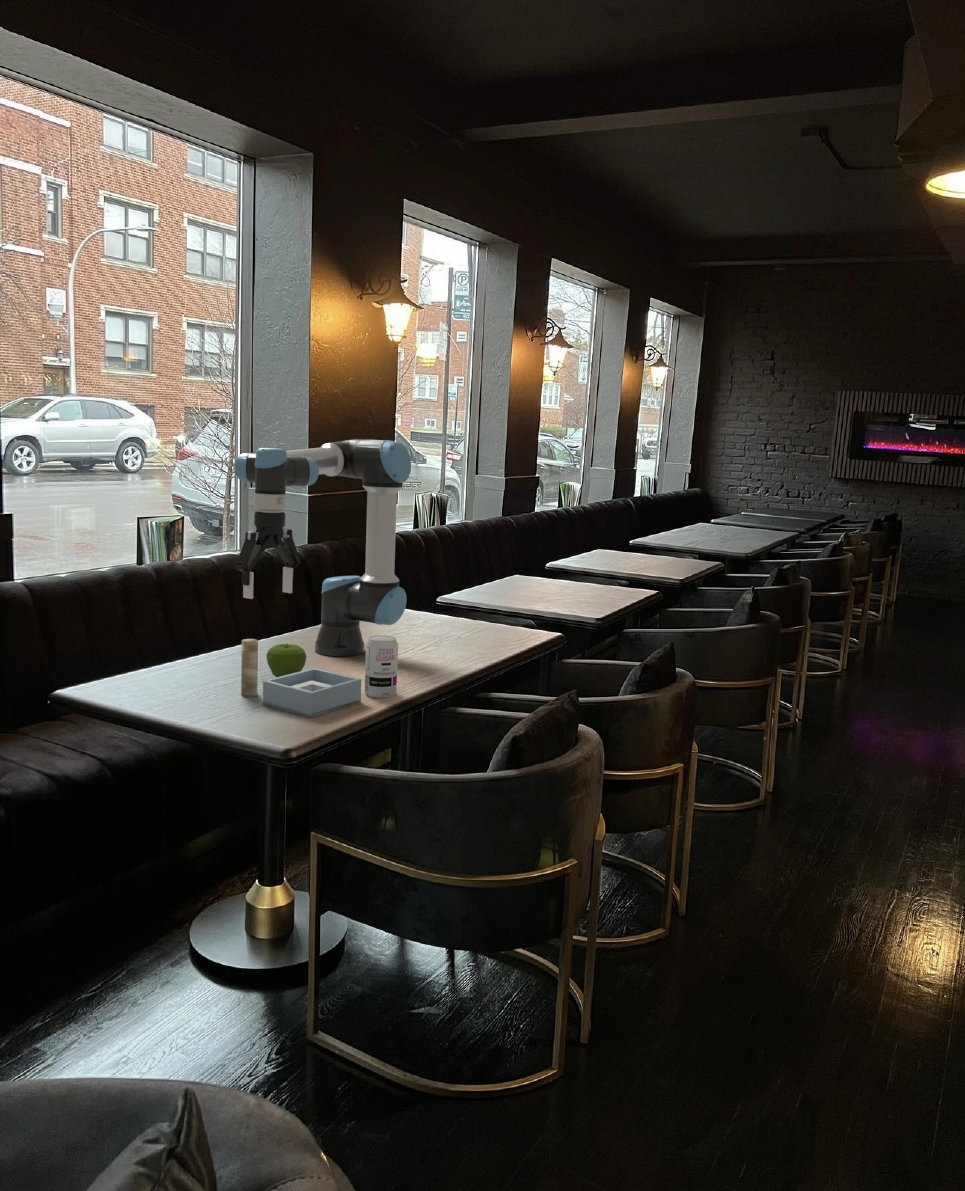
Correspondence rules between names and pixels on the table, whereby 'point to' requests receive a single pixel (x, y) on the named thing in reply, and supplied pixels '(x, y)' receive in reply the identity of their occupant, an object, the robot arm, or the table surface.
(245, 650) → the peg
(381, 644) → the supplement can
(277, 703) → the crate
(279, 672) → the apple
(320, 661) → the table surface
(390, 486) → the robot arm
